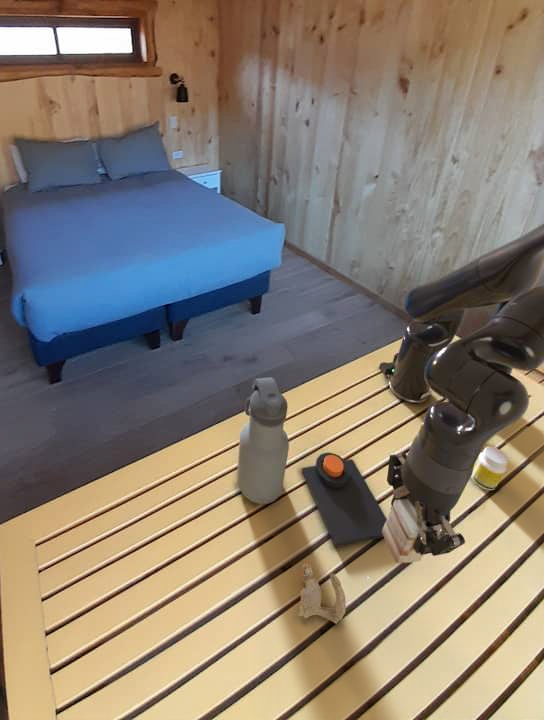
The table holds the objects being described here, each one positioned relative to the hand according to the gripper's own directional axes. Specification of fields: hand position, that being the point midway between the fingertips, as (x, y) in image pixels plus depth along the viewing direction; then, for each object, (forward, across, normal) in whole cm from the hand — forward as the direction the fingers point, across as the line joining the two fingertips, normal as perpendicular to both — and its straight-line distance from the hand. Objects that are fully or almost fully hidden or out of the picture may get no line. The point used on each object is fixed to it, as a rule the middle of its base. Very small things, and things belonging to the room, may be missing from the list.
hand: (408, 529), depth 66 cm
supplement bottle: (+14, +12, -30) cm, 35 cm away
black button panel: (+14, +13, +2) cm, 19 cm away
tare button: (+11, +18, +2) cm, 21 cm away
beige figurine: (+14, -2, +16) cm, 21 cm away
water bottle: (+14, +20, +18) cm, 30 cm away
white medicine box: (+6, 0, 0) cm, 6 cm away
